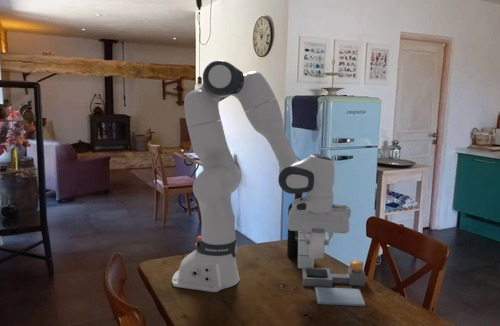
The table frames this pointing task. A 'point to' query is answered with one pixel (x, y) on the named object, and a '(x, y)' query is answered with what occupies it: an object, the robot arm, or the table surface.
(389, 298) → the table surface
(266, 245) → the table surface
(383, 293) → the table surface
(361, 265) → the plunger
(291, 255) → the wine bottle
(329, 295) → the mat
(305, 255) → the syrup box
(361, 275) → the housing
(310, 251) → the white jar
